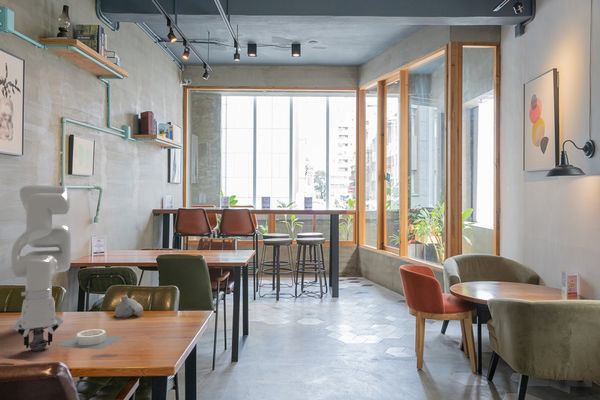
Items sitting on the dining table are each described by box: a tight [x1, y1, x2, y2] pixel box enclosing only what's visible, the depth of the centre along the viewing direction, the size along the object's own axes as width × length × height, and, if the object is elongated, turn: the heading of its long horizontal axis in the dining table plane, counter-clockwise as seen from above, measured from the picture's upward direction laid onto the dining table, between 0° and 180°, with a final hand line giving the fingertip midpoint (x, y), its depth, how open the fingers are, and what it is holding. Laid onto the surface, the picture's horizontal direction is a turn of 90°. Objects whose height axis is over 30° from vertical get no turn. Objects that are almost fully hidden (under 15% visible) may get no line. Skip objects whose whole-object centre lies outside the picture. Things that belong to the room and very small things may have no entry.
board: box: [56, 335, 124, 350], centre depth 164 cm, size 18×14×1 cm
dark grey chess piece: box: [29, 328, 48, 352], centre depth 154 cm, size 6×6×12 cm
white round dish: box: [76, 328, 107, 345], centre depth 164 cm, size 9×9×3 cm
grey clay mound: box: [114, 294, 144, 318], centre depth 205 cm, size 12×12×11 cm
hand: (38, 345), depth 155 cm, fingers closed on dark grey chess piece, 5 cm apart
